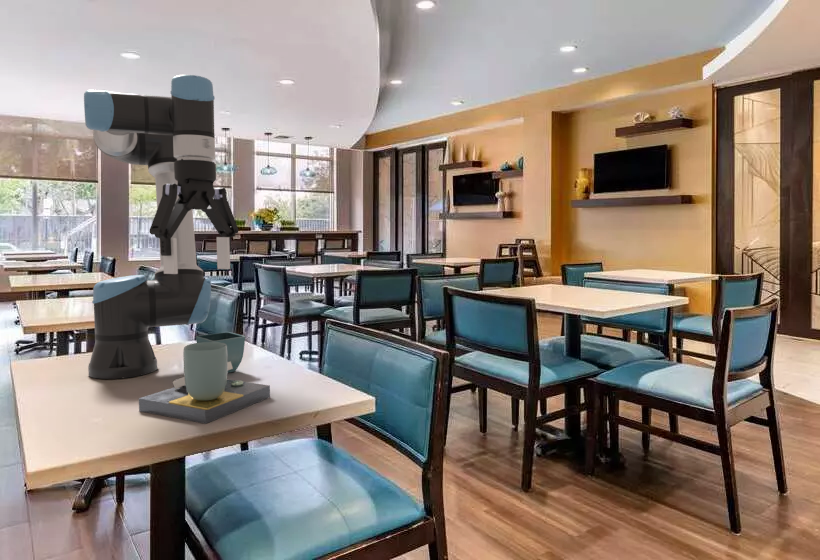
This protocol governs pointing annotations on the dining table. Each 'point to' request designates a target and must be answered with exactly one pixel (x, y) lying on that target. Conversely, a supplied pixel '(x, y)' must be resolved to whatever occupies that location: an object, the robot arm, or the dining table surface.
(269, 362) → the dining table surface
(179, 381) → the rocker
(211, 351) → the cup
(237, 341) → the flower pot
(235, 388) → the panel
